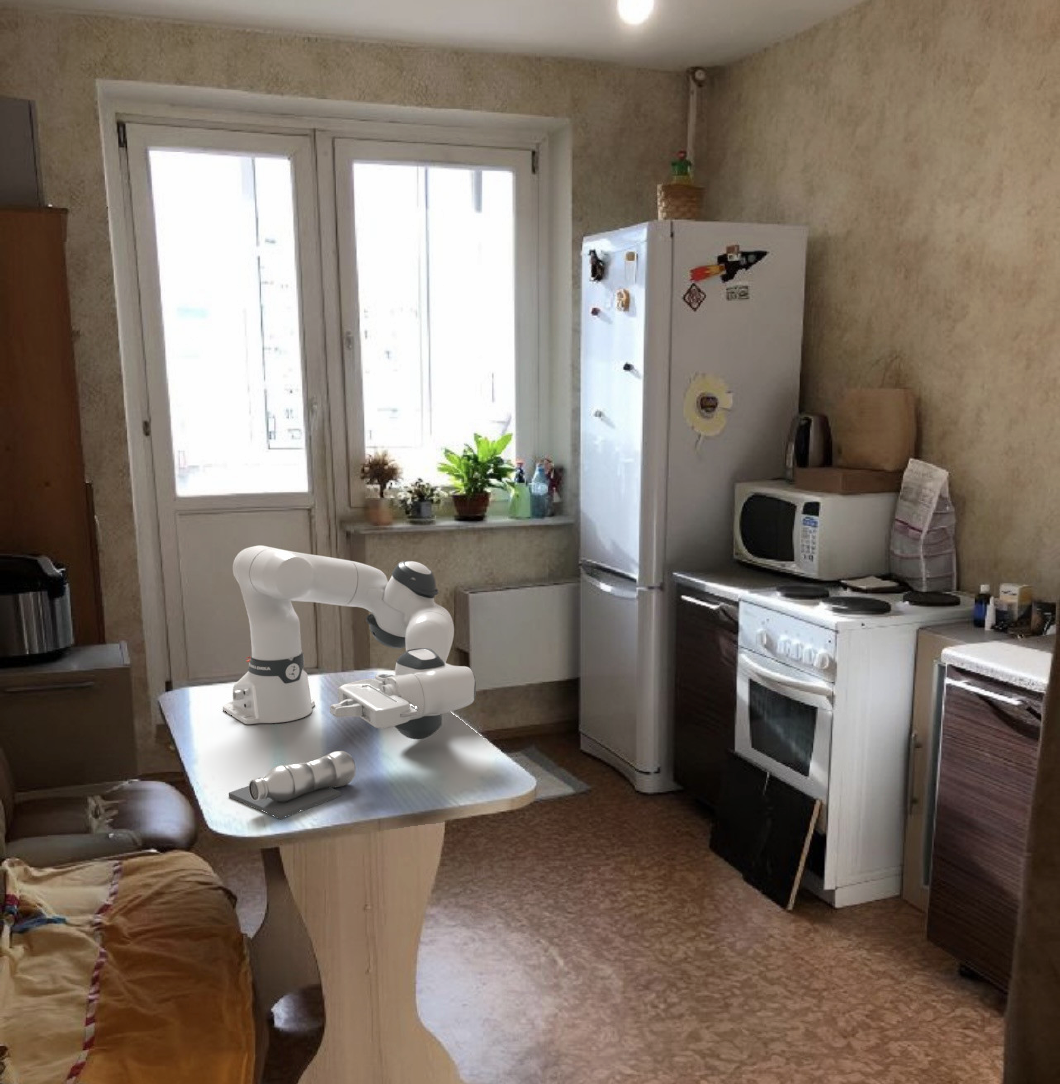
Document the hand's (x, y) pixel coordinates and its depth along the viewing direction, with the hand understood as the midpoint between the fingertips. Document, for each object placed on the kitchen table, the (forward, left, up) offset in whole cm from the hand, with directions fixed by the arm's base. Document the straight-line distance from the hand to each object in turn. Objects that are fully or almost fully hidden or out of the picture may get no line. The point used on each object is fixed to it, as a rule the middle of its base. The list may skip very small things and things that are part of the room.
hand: (332, 711), depth 183 cm
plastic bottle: (+2, +2, -11) cm, 11 cm away
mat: (-3, -10, -14) cm, 17 cm away
